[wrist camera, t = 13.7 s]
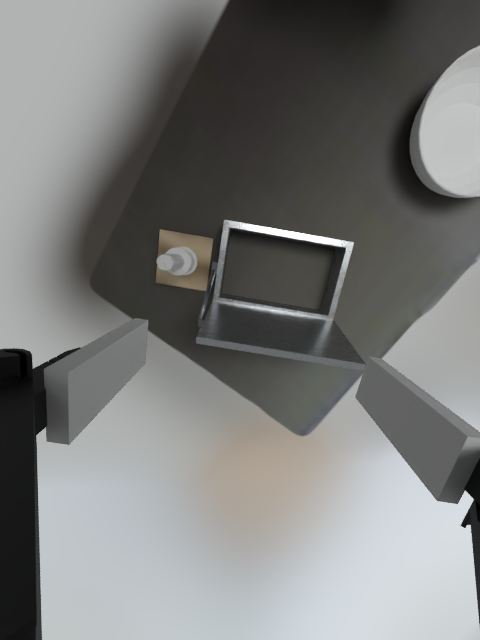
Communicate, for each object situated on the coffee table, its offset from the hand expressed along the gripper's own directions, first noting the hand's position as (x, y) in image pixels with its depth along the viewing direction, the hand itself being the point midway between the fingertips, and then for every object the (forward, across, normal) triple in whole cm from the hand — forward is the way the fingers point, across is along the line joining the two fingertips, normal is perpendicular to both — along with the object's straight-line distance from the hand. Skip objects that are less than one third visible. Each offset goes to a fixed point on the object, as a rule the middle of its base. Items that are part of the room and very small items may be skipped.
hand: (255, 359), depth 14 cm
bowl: (+35, +30, +30) cm, 55 cm away
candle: (+34, -13, +3) cm, 37 cm away
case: (+35, +4, +3) cm, 35 cm away
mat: (+35, -13, +3) cm, 37 cm away
